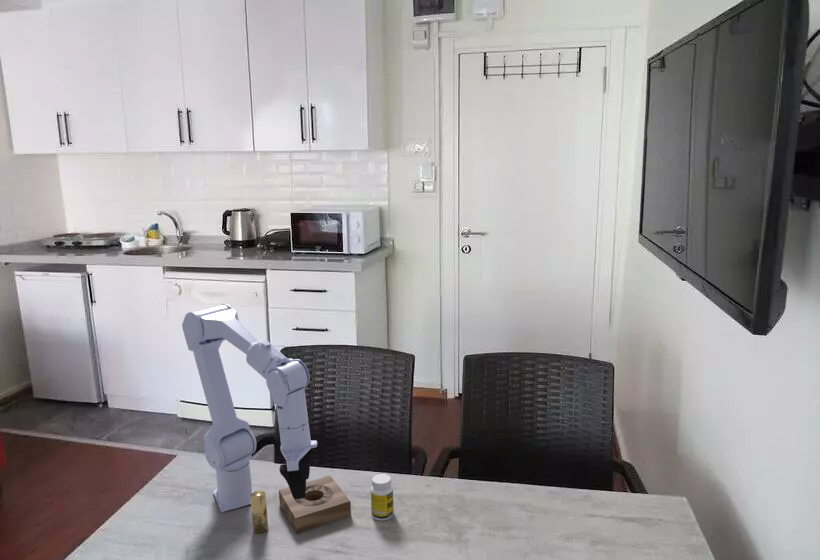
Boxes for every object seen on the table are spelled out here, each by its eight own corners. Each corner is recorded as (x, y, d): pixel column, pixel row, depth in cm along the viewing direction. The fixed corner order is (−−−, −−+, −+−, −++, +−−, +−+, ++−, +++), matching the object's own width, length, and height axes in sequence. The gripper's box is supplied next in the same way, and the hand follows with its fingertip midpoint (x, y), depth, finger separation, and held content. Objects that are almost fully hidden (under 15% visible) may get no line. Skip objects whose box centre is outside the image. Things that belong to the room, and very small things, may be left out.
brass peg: (251, 528, 124) (248, 493, 123) (266, 523, 126) (263, 489, 124) (255, 535, 122) (252, 500, 120) (270, 531, 123) (267, 496, 121)
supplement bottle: (391, 522, 125) (389, 485, 123) (369, 520, 126) (367, 483, 124) (396, 509, 129) (394, 473, 128) (374, 507, 130) (373, 471, 129)
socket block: (279, 504, 132) (278, 490, 132) (331, 489, 138) (330, 475, 137) (296, 533, 122) (295, 518, 121) (351, 515, 128) (350, 500, 127)
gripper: (310, 436, 110) (319, 504, 112) (317, 407, 124) (324, 468, 126) (272, 440, 110) (281, 509, 112) (282, 411, 124) (290, 472, 126)
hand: (301, 488), depth 119 cm, fingers open, 7 cm apart
